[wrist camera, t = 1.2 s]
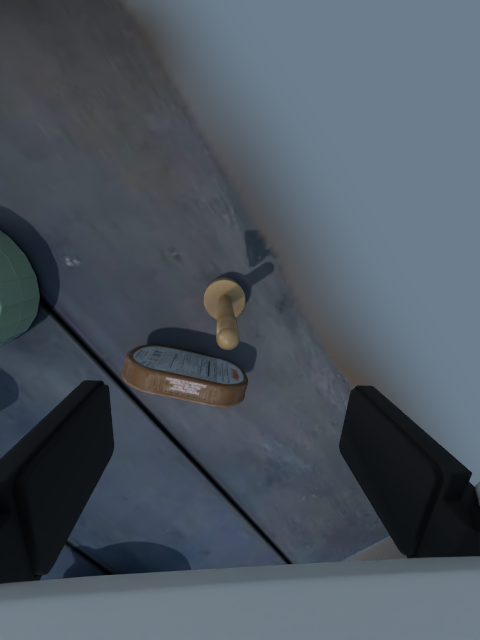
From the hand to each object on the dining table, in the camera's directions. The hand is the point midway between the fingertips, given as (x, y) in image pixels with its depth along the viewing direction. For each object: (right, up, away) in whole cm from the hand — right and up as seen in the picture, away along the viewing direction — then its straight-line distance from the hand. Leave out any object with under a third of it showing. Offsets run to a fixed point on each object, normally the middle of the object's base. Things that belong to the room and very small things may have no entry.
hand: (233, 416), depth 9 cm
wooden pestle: (-2, +7, +22) cm, 23 cm away
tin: (-6, -2, +24) cm, 25 cm away
